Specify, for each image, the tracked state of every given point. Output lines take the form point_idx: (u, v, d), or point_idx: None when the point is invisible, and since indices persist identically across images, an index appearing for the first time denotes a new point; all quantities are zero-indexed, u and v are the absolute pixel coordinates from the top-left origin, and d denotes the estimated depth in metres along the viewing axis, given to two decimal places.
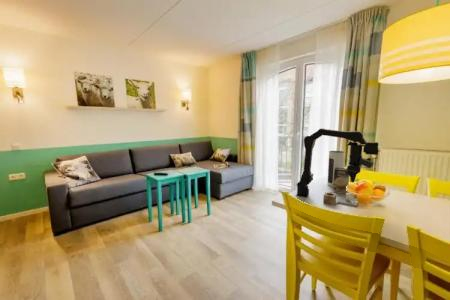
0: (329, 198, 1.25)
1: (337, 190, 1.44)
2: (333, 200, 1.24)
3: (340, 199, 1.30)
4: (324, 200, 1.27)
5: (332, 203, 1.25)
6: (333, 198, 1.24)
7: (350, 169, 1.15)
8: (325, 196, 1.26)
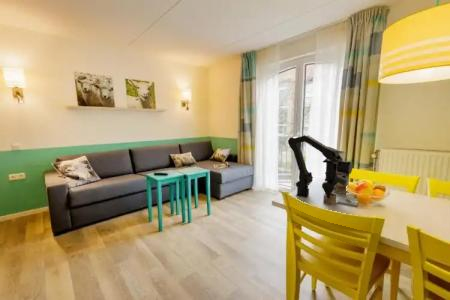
0: (329, 198, 1.25)
1: (337, 190, 1.44)
2: (333, 200, 1.24)
3: (340, 199, 1.30)
4: (324, 200, 1.27)
5: (332, 203, 1.25)
6: (333, 198, 1.24)
7: (325, 186, 1.20)
8: (325, 196, 1.26)
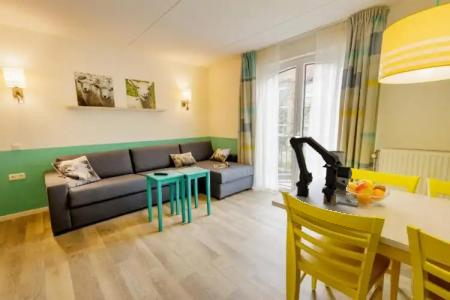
0: None
1: (337, 190, 1.44)
2: (333, 200, 1.24)
3: (340, 199, 1.30)
4: (324, 200, 1.27)
5: (332, 203, 1.25)
6: (333, 198, 1.24)
7: (324, 192, 1.20)
8: None
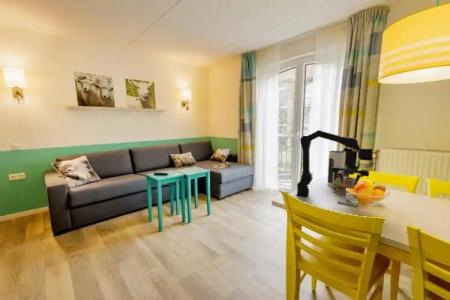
0: None
1: (337, 190, 1.44)
2: None
3: (340, 199, 1.30)
4: None
5: None
6: (343, 180, 1.26)
7: None
8: (343, 178, 1.29)
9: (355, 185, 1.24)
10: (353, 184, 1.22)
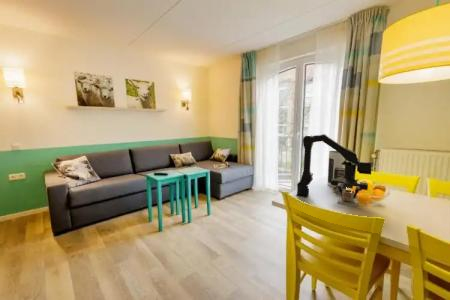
0: (342, 192, 1.29)
1: (337, 190, 1.44)
2: None
3: (340, 199, 1.30)
4: None
5: None
6: (342, 193, 1.27)
7: None
8: (343, 190, 1.31)
9: (354, 198, 1.25)
10: (352, 197, 1.24)
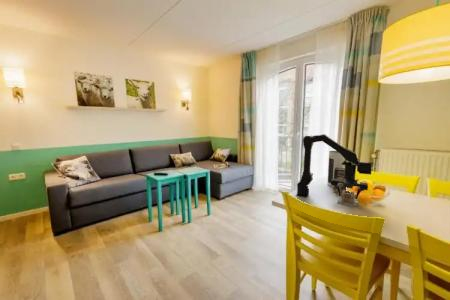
0: None
1: (337, 190, 1.44)
2: None
3: (340, 199, 1.30)
4: None
5: None
6: None
7: None
8: None
9: (356, 198, 1.25)
10: (352, 198, 1.24)
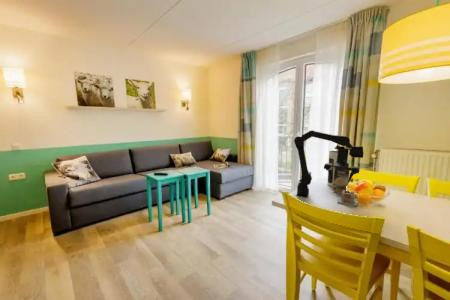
0: None
1: (337, 190, 1.44)
2: None
3: (340, 199, 1.30)
4: None
5: None
6: None
7: None
8: None
9: None
10: (352, 198, 1.24)
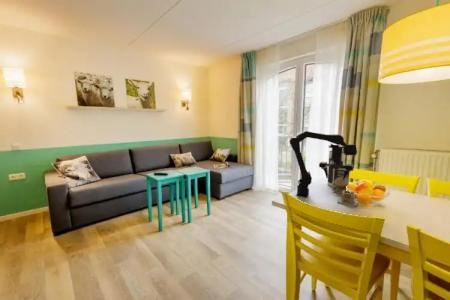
0: None
1: (337, 190, 1.44)
2: None
3: (340, 199, 1.30)
4: None
5: None
6: None
7: None
8: None
9: (343, 179, 1.31)
10: (352, 198, 1.24)
